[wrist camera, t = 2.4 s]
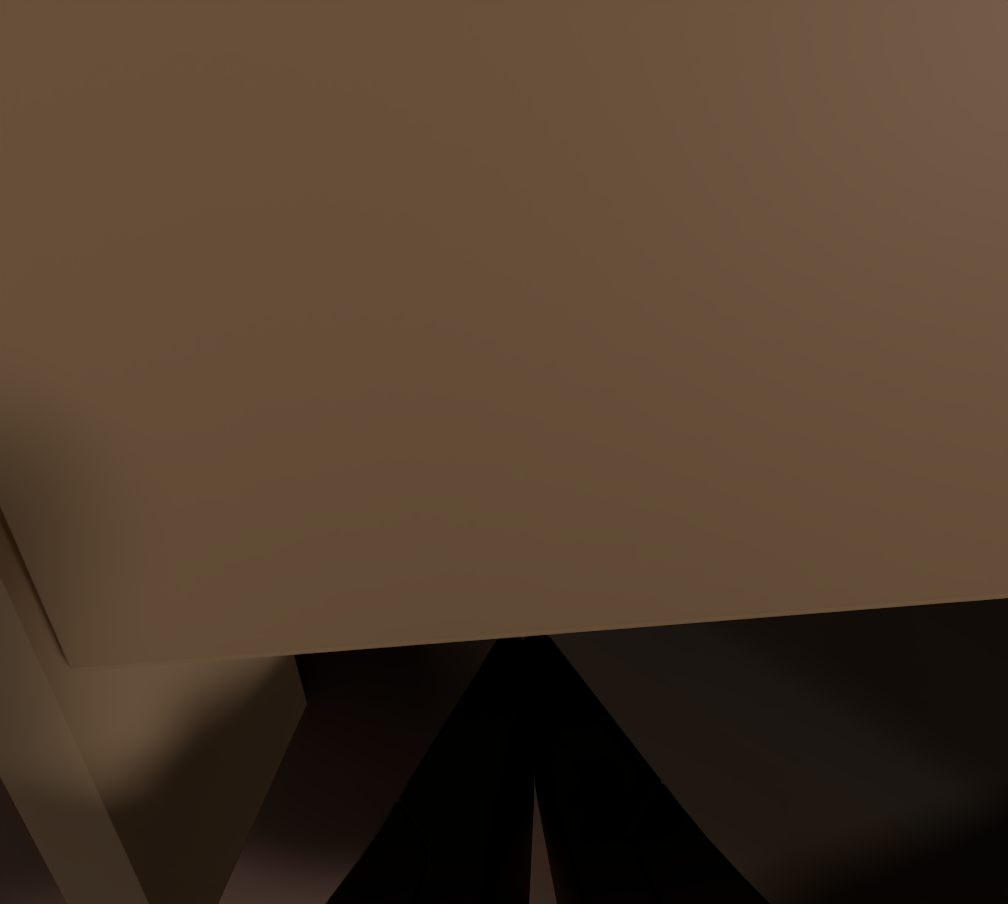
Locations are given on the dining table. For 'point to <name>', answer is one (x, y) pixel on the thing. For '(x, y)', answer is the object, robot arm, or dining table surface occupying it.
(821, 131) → the carton
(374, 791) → the dining table surface
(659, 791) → the robot arm
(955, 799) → the dining table surface
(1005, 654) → the dining table surface
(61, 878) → the flap
